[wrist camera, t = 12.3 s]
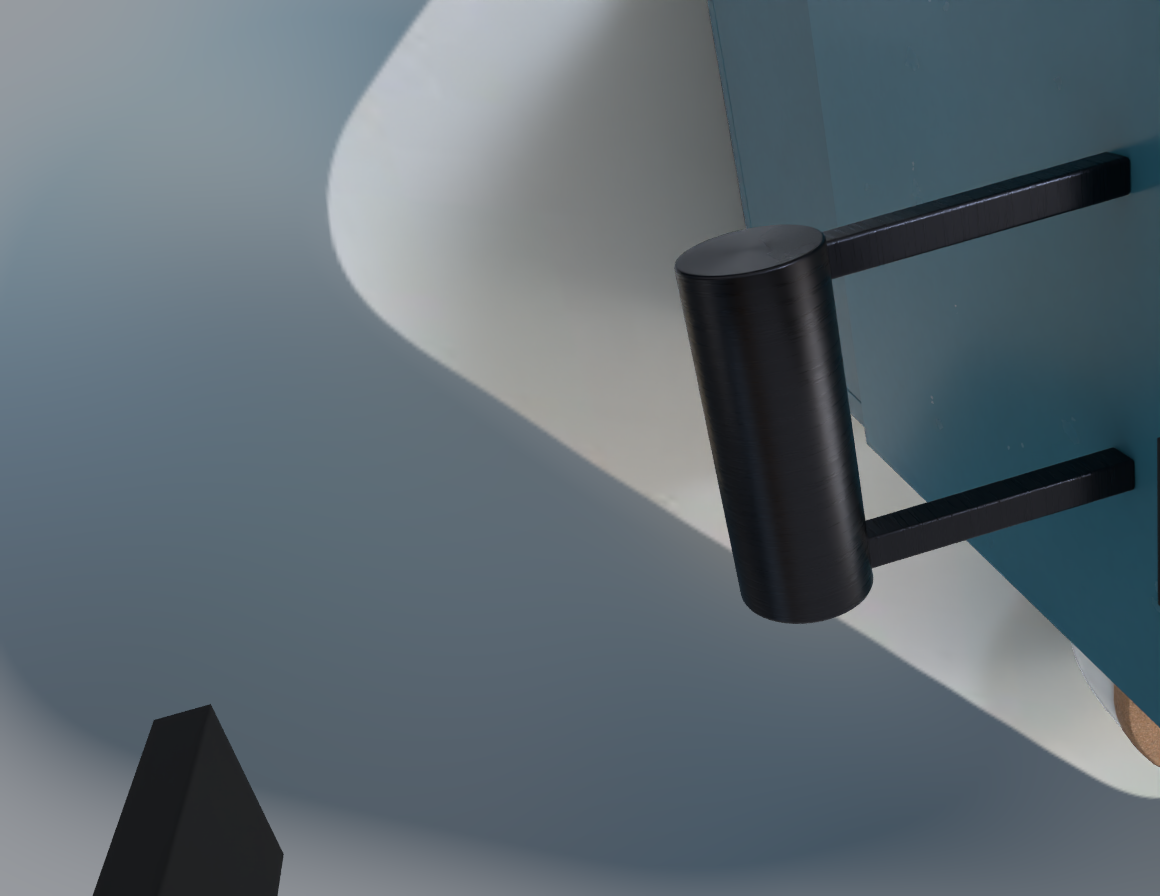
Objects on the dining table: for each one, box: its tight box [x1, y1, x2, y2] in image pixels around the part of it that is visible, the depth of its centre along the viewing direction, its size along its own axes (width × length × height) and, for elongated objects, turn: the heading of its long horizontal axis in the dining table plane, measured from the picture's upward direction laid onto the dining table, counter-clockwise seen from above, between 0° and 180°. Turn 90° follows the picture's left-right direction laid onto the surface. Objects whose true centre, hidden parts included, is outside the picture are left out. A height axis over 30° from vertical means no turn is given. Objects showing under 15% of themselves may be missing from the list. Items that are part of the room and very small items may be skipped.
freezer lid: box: [674, 0, 1160, 728], centre depth 26 cm, size 17×18×9 cm
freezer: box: [707, 0, 864, 426], centre depth 40 cm, size 16×18×13 cm
